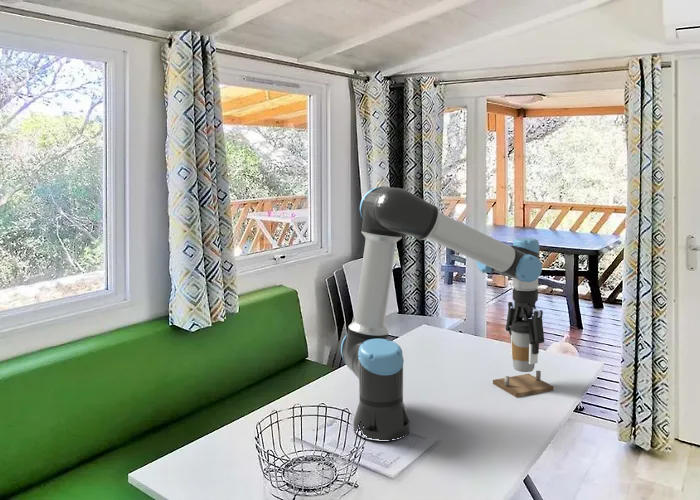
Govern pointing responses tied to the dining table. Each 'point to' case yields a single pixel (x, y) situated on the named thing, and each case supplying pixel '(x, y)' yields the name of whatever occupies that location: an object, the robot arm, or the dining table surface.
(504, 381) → the wooden board with pegs
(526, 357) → the coffee cup
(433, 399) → the dining table surface
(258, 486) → the dining table surface
